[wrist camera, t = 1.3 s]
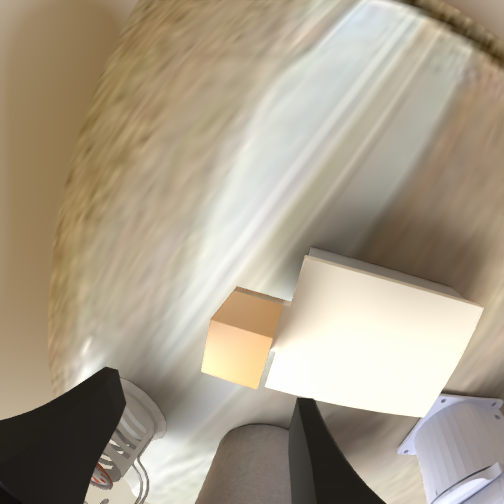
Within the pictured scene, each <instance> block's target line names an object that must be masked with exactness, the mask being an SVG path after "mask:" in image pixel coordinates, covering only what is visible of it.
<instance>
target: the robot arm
mask: <svg viewBox="0 0 504 504" xmlns="http://www.w3.org/2000/svg"><path fill="white" fill-rule="evenodd" d="M444 398H445V399H444ZM442 399H443V400H442ZM502 405H503V400H502V399H496V398H481V397H469V396H459V395H450V394H439V396H438V397H437V399H436V400H435V402H434V404H433V405H432V407H431V408H430V410H429V411H428V412H427V414H426V415H425V417H421V418H420V419H419V421H418V422H417V424H416V425H415V426H414V428H413V429H412V430H411V432H410V433H409V434H408V436H407V437H406V438H405V440H404V441H403V442H402V444H401V445H400V446H399V447H398V449H397V453H398V454H406V455H417V457H418V461H419V466H420V470H421V475H422V479H423V484H424V489H425V494H426V499H427V504H504V416H503V415H502V413H501V411H500V410H499V409H500V408H501V406H502ZM125 406H126V399H125V396H124V392H123V388H122V384H121V381H120V376H119V372H118V370H116V369H112V368H109V367H104V368H103V369H101V370H100V371H98V372H97V373H95V374H94V375H92V376H91V377H89V378H88V379H86V380H85V381H83V382H82V383H80V384H79V385H77V386H76V387H74V388H73V389H71V390H69V391H68V392H66V393H64V394H63V395H61V396H59V397H58V398H56V399H54V400H52V401H51V402H49V403H47V404H45V405H43V406H41V407H39V408H36V409H34V410H32V411H29V412H26V413H23V414H21V415H17V416H15V417H12V418H8V419H4V420H0V504H84V500H85V496H86V493H87V490H88V487H89V484H90V481H91V478H92V475H93V473H94V470H95V467H96V465H97V463H98V461H99V459H100V457H101V455H102V453H103V451H104V450H105V448H106V446H107V444H108V442H109V441H110V439H111V437H112V435H113V433H114V431H115V430H116V428H117V426H118V424H119V422H120V420H121V417H122V414H123V412H124V409H125ZM288 457H289V471H290V485H291V504H386V503H385V502H384V501H383V500H382V499H381V498H380V497H379V496H378V495H376V494H375V493H374V492H373V491H372V490H371V489H370V488H369V487H368V486H367V485H366V483H365V482H364V481H363V480H362V479H361V478H360V477H359V475H358V474H357V473H356V472H355V470H354V469H353V468H352V467H351V465H350V464H349V462H348V461H347V460H346V458H345V457H344V455H343V454H342V452H341V451H340V449H339V447H338V446H337V444H336V442H335V441H334V439H333V437H332V435H331V434H330V432H329V430H328V428H327V426H326V424H325V422H324V420H323V418H322V416H321V414H320V411H319V409H318V407H317V404H316V401H315V400H314V399H313V398H297V400H296V404H295V408H294V412H293V416H292V420H291V424H290V428H289V442H288Z"/></svg>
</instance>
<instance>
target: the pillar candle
mask: <svg viewBox="0 0 504 504" xmlns="http://www.w3.org/2000/svg"><path fill="white" fill-rule="evenodd" d="M288 442H289V431H288V430H286V429H283V428H281V427H278V426H272V425H266V424H264V425H262V424H257V425H246V426H242V427H239V428H236V429H235V430H232V431H230V432H229V433H228V434H227V435H225V436H224V438H223V439H222V440H221V442H220V444H219V447H218V449H217V452H216V454H215V456H214V459H213V461H212V464H211V467H210V469H209V471H208V474H207V476H206V479H205V481H204V483H203V486H202V489H201V490H200V493H199V495H198V498H197V500H196V502H195V504H291V485H290V471H289V457H288Z"/></svg>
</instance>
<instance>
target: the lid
mask: <svg viewBox="0 0 504 504" xmlns="http://www.w3.org/2000/svg"><path fill="white" fill-rule="evenodd" d="M483 309H484V308H483V307H482V306H481V305H480V304H478V303H475V302H471V301H468V300H464V299H461V298H457V297H454V296H451V295H447V294H444V293H440V292H437V291H433V290H430V289H426V288H423V287H419V286H416V285H412V284H409V283H405V282H402V281H398V280H395V279H391V278H388V277H384V276H380V275H377V274H373V273H370V272H366V271H363V270H359V269H355V268H352V267H348V266H345V265H341V264H337V263H334V262H330V261H326V260H323V259H319V258H316V257H312V256H308V255H305V257H304V260H303V264H302V267H301V271H300V274H299V278H298V281H297V285H296V288H295V292H294V295H293V299H292V302H290V301H286V300H283V299H279V298H276V297H272V296H269V295H265V294H262V293H258V292H255V291H251V290H248V289H244V288H241V287H238V286H237V287H236V288H235V289H234V291H233V292H232V293H231V294H230V296H229V297H228V298H227V299H226V301H225V302H224V303H223V304H222V306H221V307H220V308H219V309H218V311H217V312H216V313H215V314H214V316H213V317H212V318H211V319H210V325H209V330H208V335H207V341H206V347H205V352H204V358H203V363H202V369H201V371H202V372H204V373H207V374H210V375H213V376H216V377H219V378H222V379H225V380H228V381H231V382H234V383H237V384H240V385H243V386H247V387H250V388H253V389H257V388H258V385H259V382H260V379H261V375H262V372H263V369H264V366H265V363H266V360H267V357H268V354H269V351H270V350H271V351H275V352H276V354H275V357H274V360H273V363H272V366H271V369H270V372H269V375H268V378H267V381H266V384H265V387H267V388H271V389H274V390H278V391H282V392H286V393H289V394H293V395H297V396H301V397H306V398H313V399H314V400H319V401H323V402H328V403H332V404H337V405H342V406H348V407H353V408H358V409H364V410H370V411H376V412H383V413H390V414H397V415H405V416H414V417H425V415H426V414H427V412H428V411H429V410H430V408H431V407H432V405H433V404H434V402H435V400H436V399H437V397H438V396H439V394H440V393H441V391H442V389H443V388H444V386H445V384H446V383H447V381H448V379H449V378H450V376H451V374H452V372H453V371H454V369H455V367H456V365H457V363H458V362H459V360H460V358H461V356H462V354H463V352H464V350H465V348H466V346H467V344H468V342H469V340H470V338H471V336H472V334H473V332H474V330H475V328H476V325H477V323H478V321H479V319H480V316H481V314H482V312H483Z"/></svg>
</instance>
